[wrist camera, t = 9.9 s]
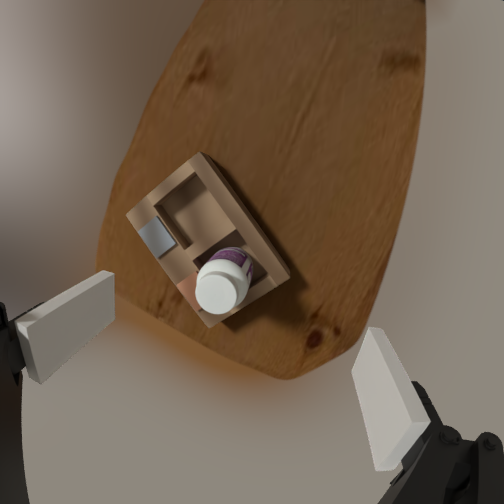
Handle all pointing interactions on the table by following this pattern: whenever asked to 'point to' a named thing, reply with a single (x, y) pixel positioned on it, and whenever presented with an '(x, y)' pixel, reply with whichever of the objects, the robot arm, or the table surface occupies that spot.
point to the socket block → (204, 232)
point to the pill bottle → (224, 280)
